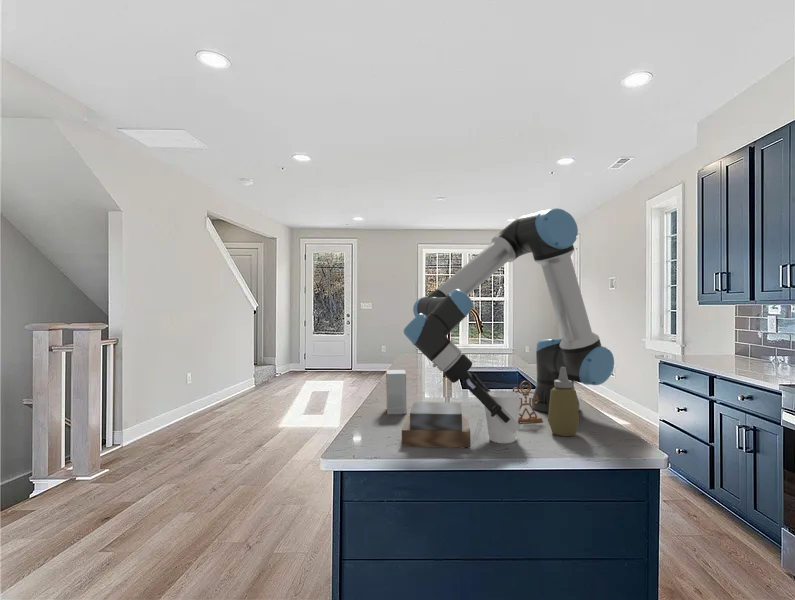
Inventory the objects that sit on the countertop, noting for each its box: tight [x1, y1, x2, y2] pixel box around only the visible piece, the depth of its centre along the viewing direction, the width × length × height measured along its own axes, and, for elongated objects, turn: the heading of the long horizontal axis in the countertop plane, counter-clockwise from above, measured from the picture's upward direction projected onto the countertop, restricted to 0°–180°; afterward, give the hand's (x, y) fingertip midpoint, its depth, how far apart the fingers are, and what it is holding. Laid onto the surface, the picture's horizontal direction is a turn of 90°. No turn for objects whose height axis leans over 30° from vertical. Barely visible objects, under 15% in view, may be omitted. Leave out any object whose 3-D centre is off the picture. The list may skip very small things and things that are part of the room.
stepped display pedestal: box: [401, 401, 471, 448], centre depth 128 cm, size 17×15×8 cm
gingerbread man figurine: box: [512, 380, 543, 424], centre depth 145 cm, size 9×4×12 cm, turn 100°
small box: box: [385, 369, 408, 415], centre depth 159 cm, size 8×6×13 cm
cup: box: [484, 390, 521, 444], centre depth 127 cm, size 9×9×12 cm
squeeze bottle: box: [547, 367, 580, 437], centre depth 132 cm, size 8×8×18 cm
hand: (514, 424), depth 126 cm, fingers open, 9 cm apart
